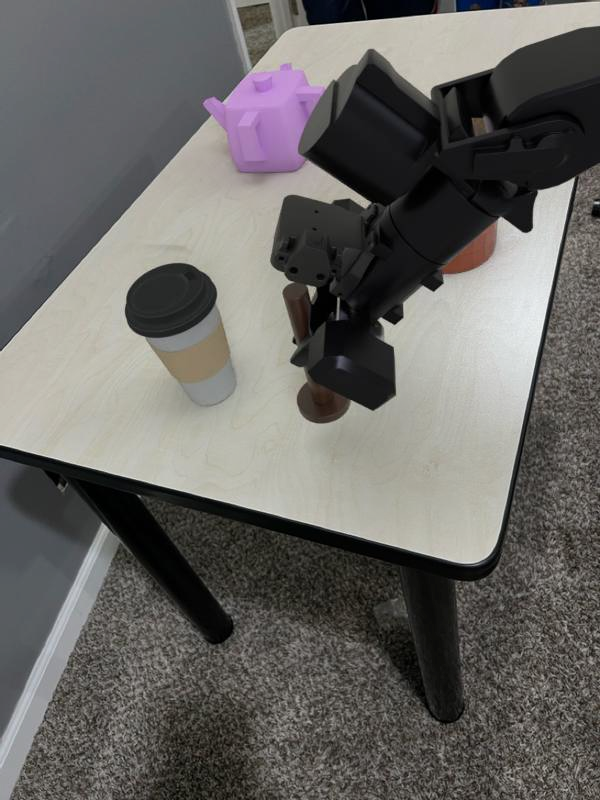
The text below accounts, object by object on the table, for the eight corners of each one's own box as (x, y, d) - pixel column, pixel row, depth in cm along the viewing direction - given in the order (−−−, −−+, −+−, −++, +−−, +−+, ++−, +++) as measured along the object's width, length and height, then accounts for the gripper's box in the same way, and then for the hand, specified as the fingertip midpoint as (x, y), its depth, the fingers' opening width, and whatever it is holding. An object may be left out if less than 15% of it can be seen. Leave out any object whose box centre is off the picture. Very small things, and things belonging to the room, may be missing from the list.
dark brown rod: (346, 377, 58) (322, 262, 47) (355, 417, 55) (331, 304, 44) (295, 388, 58) (260, 277, 47) (301, 429, 55) (265, 319, 44)
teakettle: (256, 191, 94) (235, 114, 85) (215, 152, 105) (192, 80, 95) (348, 148, 97) (337, 68, 88) (298, 114, 108) (284, 40, 98)
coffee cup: (265, 367, 70) (229, 266, 58) (222, 429, 65) (174, 332, 54) (201, 349, 74) (155, 251, 62) (156, 406, 69) (98, 311, 58)
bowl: (477, 210, 80) (478, 180, 77) (509, 260, 73) (512, 229, 70) (396, 232, 81) (393, 203, 77) (420, 283, 74) (419, 253, 70)
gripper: (331, 96, 43) (229, 239, 54) (316, 261, 32) (190, 402, 42) (444, 179, 48) (329, 296, 58) (466, 350, 36) (318, 457, 47)
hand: (295, 353), depth 51 cm, fingers closed on dark brown rod
